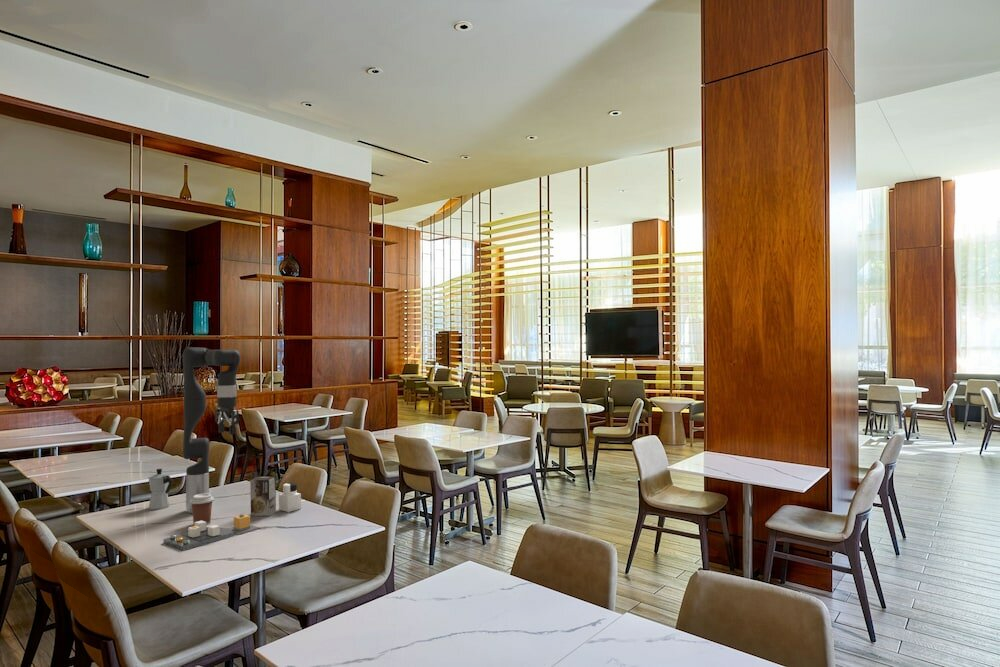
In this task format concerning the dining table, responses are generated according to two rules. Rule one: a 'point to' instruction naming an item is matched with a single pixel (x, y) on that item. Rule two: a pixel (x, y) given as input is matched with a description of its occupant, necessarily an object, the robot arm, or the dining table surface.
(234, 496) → the dining table surface
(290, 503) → the medicine bottle
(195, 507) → the coffee cup
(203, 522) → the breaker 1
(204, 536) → the dark grey flat slab
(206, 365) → the robot arm
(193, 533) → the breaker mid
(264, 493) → the coffee box
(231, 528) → the lockout mat
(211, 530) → the breaker
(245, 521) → the lockout cap
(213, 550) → the dining table surface
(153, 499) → the coffee maker
